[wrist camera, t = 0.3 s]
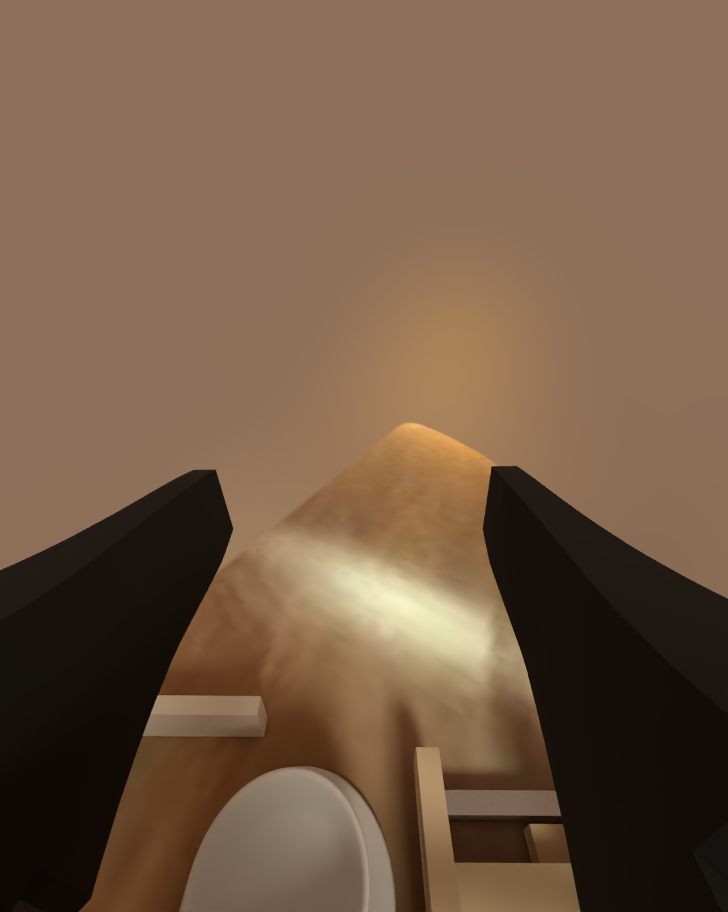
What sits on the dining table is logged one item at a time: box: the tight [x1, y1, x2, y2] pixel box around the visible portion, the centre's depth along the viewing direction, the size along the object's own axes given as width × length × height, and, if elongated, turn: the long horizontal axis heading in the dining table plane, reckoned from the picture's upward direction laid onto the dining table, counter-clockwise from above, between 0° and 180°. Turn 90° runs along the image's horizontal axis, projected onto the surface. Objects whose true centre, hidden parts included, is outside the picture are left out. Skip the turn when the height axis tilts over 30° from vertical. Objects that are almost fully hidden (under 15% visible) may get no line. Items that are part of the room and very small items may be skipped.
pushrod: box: [413, 747, 580, 912], centre depth 15 cm, size 10×12×7 cm
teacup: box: [179, 766, 396, 912], centre depth 16 cm, size 10×10×5 cm
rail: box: [445, 790, 562, 821], centre depth 17 cm, size 8×11×1 cm
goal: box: [143, 695, 268, 737], centre depth 16 cm, size 15×10×3 cm, turn 0°
